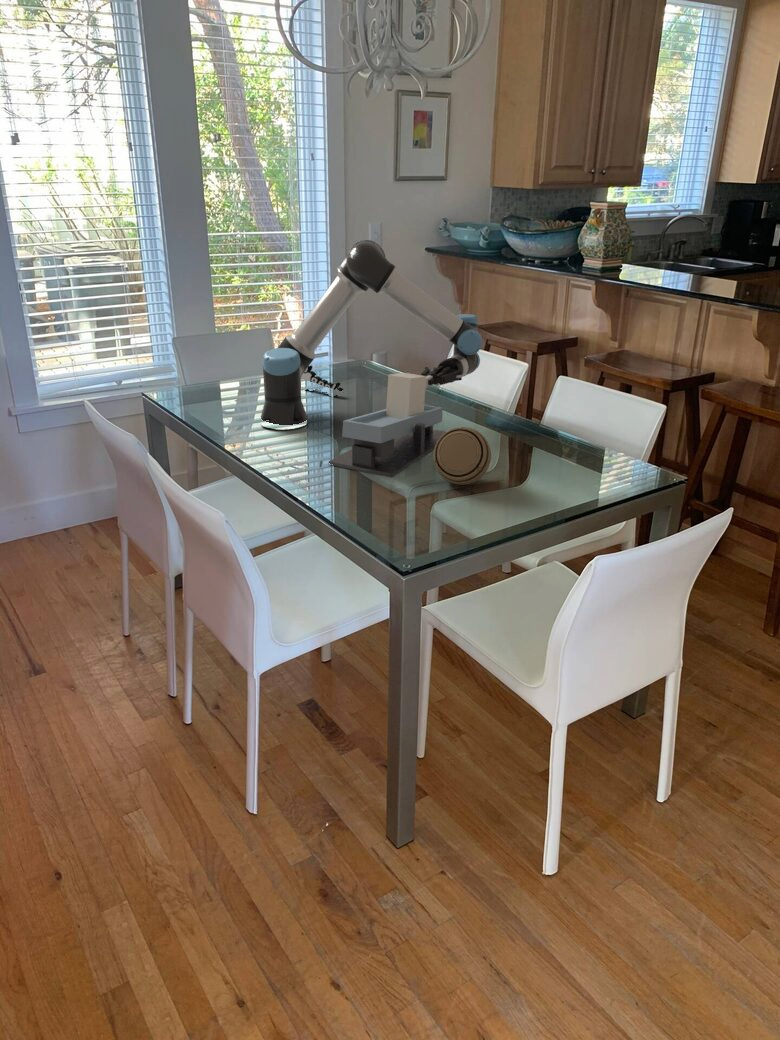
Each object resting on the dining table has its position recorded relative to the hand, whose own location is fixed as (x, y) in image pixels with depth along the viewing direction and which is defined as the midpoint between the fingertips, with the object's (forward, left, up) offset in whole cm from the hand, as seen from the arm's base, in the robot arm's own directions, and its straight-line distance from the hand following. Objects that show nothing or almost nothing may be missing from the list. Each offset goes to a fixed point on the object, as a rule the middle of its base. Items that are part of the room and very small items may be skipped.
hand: (421, 384), depth 234 cm
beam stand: (-8, -8, -18) cm, 21 cm away
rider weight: (-5, -3, -9) cm, 11 cm away
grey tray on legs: (-8, -9, -16) cm, 20 cm away
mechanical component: (+9, -35, -18) cm, 41 cm away
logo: (-33, +57, -18) cm, 69 cm away
